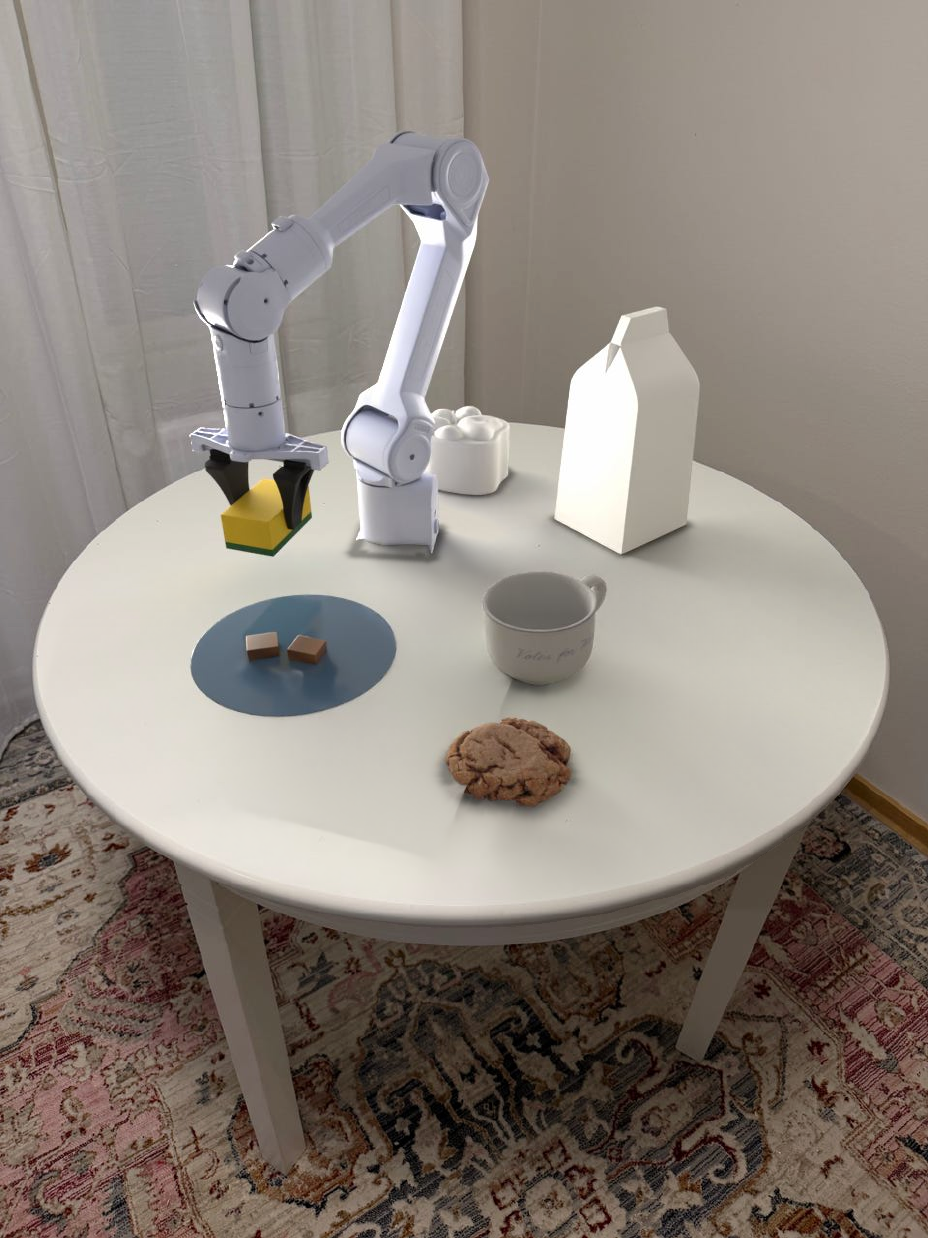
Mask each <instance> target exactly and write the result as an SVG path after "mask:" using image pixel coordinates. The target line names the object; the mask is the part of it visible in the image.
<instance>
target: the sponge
mask: <svg viewBox="0 0 928 1238" xmlns="http://www.w3.org/2000/svg"><path fill="white" fill-rule="evenodd" d="M249 489H250V490H249V491H248V492H247V493H245V494H244V495H243V496H242V497H241V498H240V499H238V500H237V501H236V502H235V503H234V504H232V505H231V506H230V505H229V507H228V508H227V509H225V510H224V511H223V512H222V513H220V519H221V526H222V531H223V537H224V543H225V549H227V550H233V551H238V552H243V553H251V554H255V555H260V556H267V557H270V558H271V557H273V558H274V557H275V556H276V555H277V553H280V550H282V549H283V548H284V547H285V546H286V545H287V543H288V542H289V541H290V540H292V538H294V537H295V536H296V535H297V534H298V532H300V531H301V530H302V529H303V527H304V526H306V524H308V522H310V521H311V520H312V518H313V515H312V514H313V512H312V505H311V504H312V503H311V494H310V485H308V488H307V491H306V495H305V500H304V505H303V512H302V522H301V523H300V524H299V525H298V526H297V527H296V528H295V529H294V530H291V529H288V528H287V525H286V522H285V517H284V510H283V503H282V499H281V495H280V492H279V489H278V487H277V485H276V482H275V480H274V479H272V478H265V477H263V478H262V479H260V480H259V481H258V482H257V483H256V484H255V485H253V487H250V488H249Z"/></svg>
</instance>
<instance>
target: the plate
mask: <svg viewBox="0 0 928 1238" xmlns="http://www.w3.org/2000/svg"><path fill="white" fill-rule="evenodd" d="M274 632H277V638H278V645H279V654H280V656H276V657H269V658H262V659H254V660H248V655H247V646H246V636H251V635H259V634H266V633H274ZM298 635H300V636H305V637H311V638H316V639H321V640H326V643H327V651H326V653H325V654H324V655H323V657H322V658H321V659H320V661H319V662H318V663H317V665H315V664H310V663H305V662H300V661H295V660H290V659H288V652H287V649H288V648H289V646H290V645H291V644H292V643H293V642H294V640H295V639H296V638H297V637H298ZM396 639H397V638H396V635H395V632H394V631H393V628H392V626H391V625H390V624H389V622H388V621H387V620H386V619H385V618H384V617H383V616H382V615H381V614H379V613H378V612H377V611H375V610H374V609H372V608H371V607H368V606H367V605H365V604H362V603H360V602H358V601H355V600H352V599H348V598H345V597H339V596H335V595H329V594H314V593H313V594H312V593H311V594H308V593H306V594H305V593H303V594H290V595H283V596H277V597H272V598H267V599H263V600H260V601H256V602H254V603H251V604H247V605H246V606H243V607H241V608H239V609H236V610H234V611H233V612H231V613H228V614H227V615H225V616H224V617H222V618H221V619H219V620H217V621H216V622H215V623H213V625H212V626H210V627H209V628H208V629H207V630H206V631H205V632H204V633H203V634H202V635H201V637H200V638H199V639H198V640H197V642H196V644H195V646H194V648H193V650H192V654H191V657H190V665H189V667H190V673H191V678H192V679H193V681H194V684H195V685H196V686H197V688H198V689H199V691H201V692H202V693H203V694H204V695H205V696H206V697H207V698H208V699H210V700H211V701H213V702H215V703H216V704H218V705H220V706H222V707H224V708H225V709H229V710H232V711H235V712H237V713H243V714H246V715H250V716H251V715H252V716H259V717H271V718H272V717H274V718H275V717H276V718H284V717H298V716H304V715H310V714H311V715H312V714H315V713H321V712H324V711H326V710H327V711H328V710H329V709H330V710H331V709H333V708H337V707H339V706H342V705H344V704H347V703H349V702H351V701H353V700H355V699H356V698H359V697H360V696H363V694H365V693H366V692H368V691H369V690H371V689H373V688H374V687H375V686H376V685H377V684H378V683H379V682H380V681H381V680H382V679H383V678H384V677H385V676H386V675H387V673H388V672H389V671H390V668H391V667H392V666H393V663H394V661H395V658H396V654H397V640H396Z"/></svg>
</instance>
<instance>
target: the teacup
mask: <svg viewBox="0 0 928 1238" xmlns="http://www.w3.org/2000/svg"><path fill="white" fill-rule="evenodd" d="M607 590H608V589H607V583H606V581H605V579H604V578H603V577H601V576H600V575H597V574H593V573H589V574H586V575H585V576H583V577H582V578H581V579H577V578H576V577H573V576H570V575H567V574H563V573H558V572H554V571H553V572H552V571H529V572H520V573H514V574H511V575H508V576H505V577H502V578H500V579H499V580H497V581H495V582H494V583H492V584H490V585H489V587H488V588H487V589H486V590H485V592H484V593H483V596H482V600H481V603H482V609H483V617H484V619H483V620H484V634H485V645H486V650H487V653H488V656H489V658H490V659H491V662H492V663H493V664H494V665H495V666H496V667H497V668H498V669H499V670H500V671H501V672H503V674H505V675H507V676H509V677H511V678H513V679H515V680H517V681H519V682H522V683H525V684H530V685H550V684H554V683H557V682H560V681H562V680H566V679H567V678H568V677H570V676H573V675H574V674H576V673H577V672H579V671H580V670H582V668H583V667H584V666H585V665H586V663H587V662H588V660H589V659H590V657H591V654H592V650H593V647H594V639H595V629H596V628H595V627H596V613H597V612H598V610H599V609H600V608H601V606H602V604H603V603H604V601H605V599H606V596H607Z"/></svg>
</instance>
